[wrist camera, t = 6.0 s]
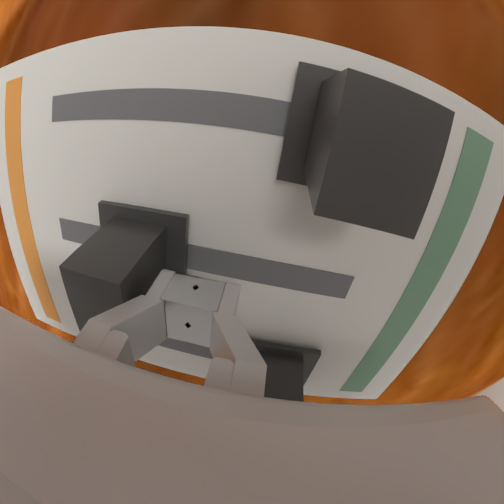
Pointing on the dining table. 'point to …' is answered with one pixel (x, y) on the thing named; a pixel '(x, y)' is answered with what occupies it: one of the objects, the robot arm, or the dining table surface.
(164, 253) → the breaker
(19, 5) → the dining table surface
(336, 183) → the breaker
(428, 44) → the dining table surface
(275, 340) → the panel
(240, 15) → the dining table surface
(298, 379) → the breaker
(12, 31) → the dining table surface
